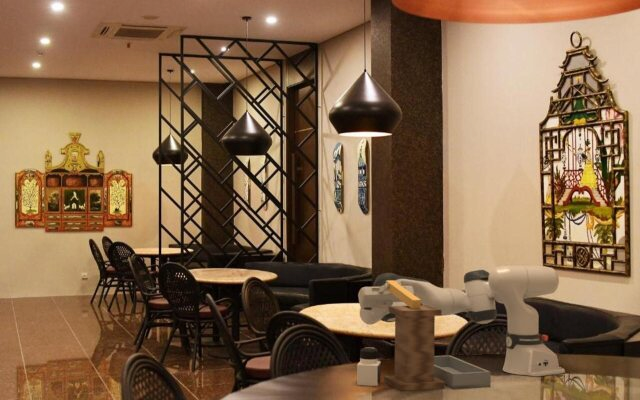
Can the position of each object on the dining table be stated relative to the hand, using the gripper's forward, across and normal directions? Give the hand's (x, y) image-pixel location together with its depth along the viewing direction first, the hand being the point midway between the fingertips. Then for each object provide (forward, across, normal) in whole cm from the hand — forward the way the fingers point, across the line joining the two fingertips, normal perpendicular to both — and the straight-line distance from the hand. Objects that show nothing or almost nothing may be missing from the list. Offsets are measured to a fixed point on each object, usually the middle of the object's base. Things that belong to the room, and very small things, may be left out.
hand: (393, 285), depth 291 cm
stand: (0, 0, -37) cm, 37 cm away
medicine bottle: (-6, +14, -34) cm, 37 cm away
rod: (+5, 0, -7) cm, 9 cm away
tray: (-6, -17, -34) cm, 38 cm away
